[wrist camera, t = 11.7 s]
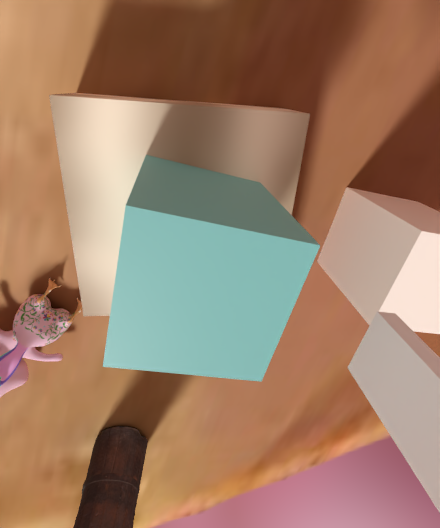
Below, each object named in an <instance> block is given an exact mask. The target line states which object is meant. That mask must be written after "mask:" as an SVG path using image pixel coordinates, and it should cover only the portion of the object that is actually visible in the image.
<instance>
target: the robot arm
mask: <svg viewBox="0 0 440 528" xmlns="http://www.w3.org/2000/svg"><path fill="white" fill-rule="evenodd" d="M348 369H349V371H350V372H351V374H352V376H353V377H354V379H355V380H356V382H357V383H358V385H359V387H360V388H361V390H362V391H363V393H364V394H365V396H366V398H367V399H368V401H369V402H370V404H371V406H372V407H373V409H374V410H375V412H376V413H377V415H378V417H379V418H380V420H381V421H382V423H383V424H384V426H385V428H386V429H387V431H388V432H389V434H390V435H391V437H392V439H393V440H394V442H395V443H396V445H397V446H398V448H399V450H400V451H401V452H402V454H403V456H404V457H405V459H406V461H407V462H408V464H409V465H410V467H411V468H412V470H413V472H414V473H415V475H416V476H417V478H418V480H419V481H420V482H421V484H422V486H423V487H424V489H425V490H426V492H427V493H428V495H429V497H430V498H431V500H432V501H433V503H434V505H435V506H436V508H437V509H438V511H439V512H440V358H439V357H438V356H437V355H436V354H435V353H434V352H433V351H432V350H431V349H430V348H429V347H428V346H427V345H426V344H425V343H424V342H423V341H422V340H421V339H420V338H419V337H418V336H417V335H416V334H415V333H414V332H413V331H412V330H411V329H410V328H409V327H408V326H407V324H406V323H405V322H404V321H403V320H402V319H401V318H400V317H399V316H398V315H397V314H396V313H388V312H378V311H377V313H376V315H375V317H374V318H373V320H372V322H371V324H370V326H369V328H368V330H367V332H366V334H365V336H364V337H363V339H362V341H361V343H360V345H359V347H358V349H357V351H356V353H355V355H354V356H353V358H352V360H351V362H350V364H349V366H348Z"/></svg>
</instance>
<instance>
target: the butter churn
mask: <svg viewBox="0 0 440 528" xmlns="http://www.w3.org/2000/svg"><path fill="white" fill-rule="evenodd" d="M147 442H148V441H147V439H146V437H143V436H141V435H140V433H139V430H137V429H136V428H132V427H121V426H117V427H111V428H108V429H105V430H103V431H102V433H101V435H99V436H98V437H97V438H96V441H95V444H94V448H93V452H92V456H91V460H90V465H89V468H88V473H87V478H86V480H85V482H84V484H83V489H82V499H81V503H80V506H79V511H78V514H77V517H76V520H75V525H74V527H73V528H133V520H134V516H135V508H136V504H137V498H138V497H137V496H138V493H139V487H140V480H141V476H142V470H143V464H144V459H145V454H146V448H147Z"/></svg>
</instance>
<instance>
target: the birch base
mask: <svg viewBox="0 0 440 528" xmlns="http://www.w3.org/2000/svg"><path fill="white" fill-rule="evenodd" d="M49 97H50V103H51V110H52V116H53V123H54V129H55V135H56V142H57V148H58V155H59V161H60V168H61V174H62V180H63V187H64V193H65V200H66V206H67V213H68V219H69V225H70V232H71V238H72V245H73V251H74V258H75V264H76V270H77V277H78V283H79V290H80V296H81V303H82V309H83V315H84V316H110V312H111V305H112V298H113V291H114V284H115V277H116V270H117V263H118V256H119V249H120V242H121V235H122V228H123V220H124V213H125V206H126V203H127V201H128V198H129V196H130V193H131V191H132V188H133V186H134V183H135V181H136V178H137V176H138V173H139V171H140V168H141V166H142V163H143V161H144V158H145V156H146V155H150V156H154V157H158V158H162V159H166V160H170V161H174V162H178V163H182V164H186V165H190V166H195V167H199V168H203V169H207V170H211V171H215V172H219V173H223V174H227V175H231V176H235V177H240V178H244V179H248V180H252V181H256V182H260V183H261V184H262V185H263V186H264V187H265V188H266V189H267V190H268V191H269V192H270V193H271V194H272V195H273V196H274V197H275V198H276V200H277V201H278V202H279V203H280V204H281V205H282V206H283V207H284V208H285V209H286V210H287V211H288V212H289V213H290V214H291V215H292V211H293V205H294V200H295V194H296V189H297V184H298V178H299V173H300V167H301V162H302V156H303V151H304V145H305V140H306V134H307V129H308V123H309V118H310V114H309V113H304V112H299V111H295V110H290V109H285V108H275V107H262V106H248V105H234V104H221V103H207V102H194V101H180V100H167V99H153V98H139V97H126V96H112V95H99V94H85V93H68V94H55V95H49Z"/></svg>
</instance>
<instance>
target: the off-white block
mask: <svg viewBox="0 0 440 528" xmlns="http://www.w3.org/2000/svg"><path fill="white" fill-rule="evenodd" d="M317 262H318V263H319V265H320V266H321V267H322V268H323V269H324V271H325V272H326V273H327V274H328V276H329V277H330V278H331V279H332V280H333V282H334V283H335V284H336V285H337V287H338V288H339V289H340V290H341V291H342V293H343V294H344V295H345V296H346V298H347V299H348V300H349V301H350V302H351V304H352V305H353V306H354V307H355V308H356V310H357V311H358V312H359V313H360V315H361V316H362V317H363V318H364V319H365V321H366V322H367V323H368V324H369V326H370V324H371V322H372V320H373V318H374V317H375V315H376V313H377V311H378V312H388V313H396V314H397V315H398V316H399V317H400V318H401V319H402V320H403V321H404V322H405V323H406V324H407V326H408V327H409V328H410V329H411V330H412V331H415V332H425V333H435V334H440V212H439V211H437V210H435V209H433V208H430V207H428V206H426V205H424V204H422V203H420V202H417V201H412V200H407V199H402V198H398V197H393V196H388V195H383V194H378V193H373V192H368V191H363V190H358V189H353V188H349V187H346V190H345V192H344V195H343V198H342V200H341V203H340V205H339V208H338V210H337V213H336V215H335V218H334V220H333V223H332V225H331V228H330V230H329V233H328V235H327V238H326V240H325V243H324V245H323V248H322V250H321V253H320V255H319V258H318V261H317Z"/></svg>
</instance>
